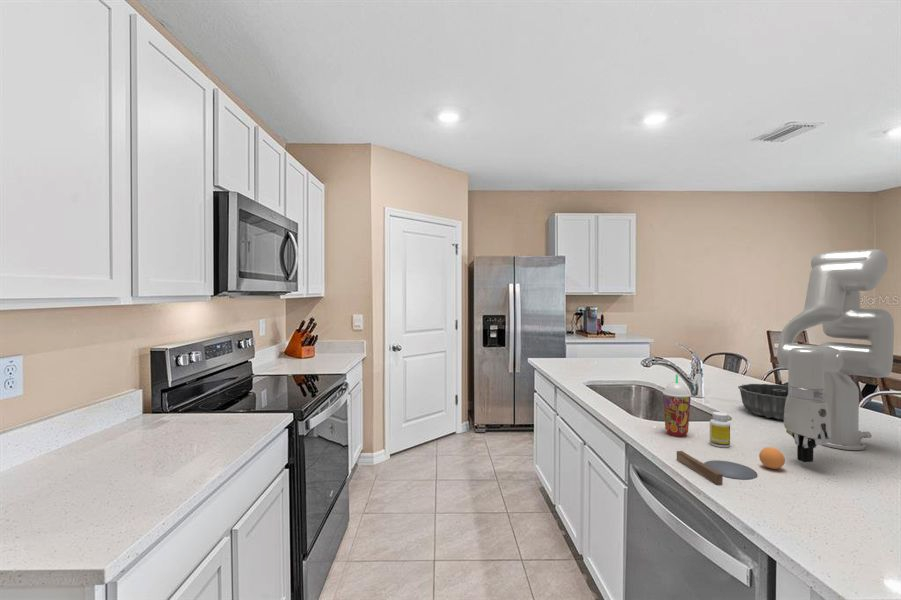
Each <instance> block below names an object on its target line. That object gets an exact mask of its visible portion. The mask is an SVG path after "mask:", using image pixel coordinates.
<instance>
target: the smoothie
mask: <svg viewBox="0 0 901 600" xmlns="http://www.w3.org/2000/svg"><path fill="white" fill-rule="evenodd" d="M662 398H663V399H662V400H663V413H664V414H663V415H664V425H665V426H664V429H665V431H666V433H667V434H668V435H670V436H673V437H677V436H678V437H682V438H683V437H686V436H687V433H688V432H689V425H690V424H689V423H690V412H691V411H690V410H691V398H692V394H691V393H690V391H689V388H687V387H686V386H685V385H684V384H682V383H681V382H679V374H675V382H672V383H669V384H668V385H667V386H666V387H665V389H664V390H663V391H662ZM678 437H677V438H678Z"/></svg>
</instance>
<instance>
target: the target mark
mask: <svg viewBox="0 0 901 600" xmlns="http://www.w3.org/2000/svg"><path fill="white" fill-rule="evenodd" d="M704 464H705V465H707V466H709V467H711V468H712V469H714V470H716V471H717V472H719V473H721V474H723V476H724V478H727V479H728V478H729V479H733V480H746V481H747V480H753V478H754V479H756V478H757V477H758V473H757V472H756V471H755V469H753V468H752V467H751V468H750V467H749V466H747V465H744V464H741V463H737V462H733V461H727V460H718V459H717V460H715V459H713V460H708V461H705V462H704Z"/></svg>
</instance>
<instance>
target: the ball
mask: <svg viewBox="0 0 901 600" xmlns="http://www.w3.org/2000/svg"><path fill="white" fill-rule="evenodd" d="M758 457H759V460H760V462H761V464H762V465H763V466H765V467H767V468H769V469H772V470H777V469H780V468H782V467H783V466H784V465H785V462H786V461H785V460H786V458H785V456H784V453H782V452H781V451H780V450H779V449H777V448H775V447H772V446H770V447H769V446H767V447H764V448H763V449H761V450H760V451H759V455H758Z"/></svg>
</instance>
